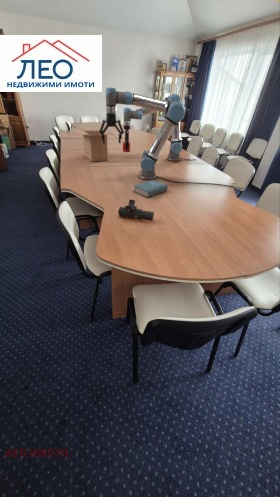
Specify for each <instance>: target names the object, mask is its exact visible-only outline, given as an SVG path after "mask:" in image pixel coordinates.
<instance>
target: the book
mask: <svg viewBox="0 0 280 497" xmlns="http://www.w3.org/2000/svg"><path fill="white" fill-rule="evenodd" d="M168 187H169V186H168V184H166V183H164V182H160V181H159V180H156V179H153V180H146V181H143V182H140V183H137V184H134V185H133V193H135V194H138V195H140V196H142V197H145V198H150V197H153V196H156V195H159V194H161V193H164V192H167V191H168Z"/></svg>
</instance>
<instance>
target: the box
mask: <svg viewBox="0 0 280 497" xmlns="http://www.w3.org/2000/svg"><path fill="white" fill-rule="evenodd" d="M99 130H100V129H99ZM99 130H98V129H97V128H80V129H74V132H77V133H78V134H80V135H82V140H83V152H84V156H85V157H86V158H87V159H88V160H89V161H90V162H102V161H105V162H106V161H108V136H111V135H112V136H113V135H115V133H114V132H113V131H112V132H111V131H109V130H108V129H107V130H106V131H105V133H104V139H105V144H103V139H102V138H101V134H100V133H99ZM102 131H103V130H102Z"/></svg>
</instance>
